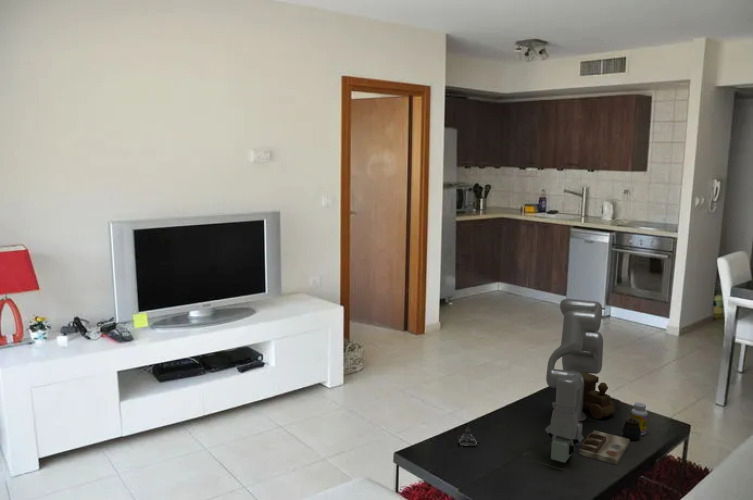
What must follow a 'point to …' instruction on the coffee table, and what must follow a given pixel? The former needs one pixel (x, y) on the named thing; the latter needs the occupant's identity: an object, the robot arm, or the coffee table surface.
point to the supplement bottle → (640, 416)
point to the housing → (560, 449)
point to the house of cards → (465, 442)
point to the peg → (580, 432)
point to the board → (604, 447)
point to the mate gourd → (631, 428)
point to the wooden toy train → (596, 397)
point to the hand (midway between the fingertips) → (563, 451)
